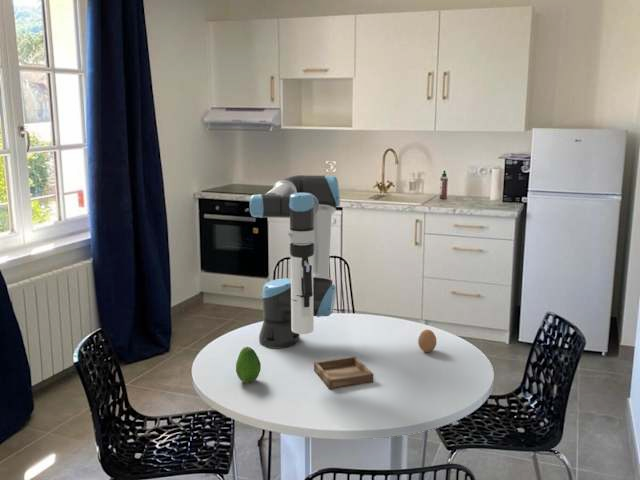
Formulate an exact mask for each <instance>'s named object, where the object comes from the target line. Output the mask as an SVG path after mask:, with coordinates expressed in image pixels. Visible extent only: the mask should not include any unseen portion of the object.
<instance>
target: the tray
mask: <svg viewBox="0 0 640 480" xmlns="http://www.w3.org/2000/svg"><path fill="white" fill-rule="evenodd" d="M313 371H314V372H315V374H316V375H317V376H318V378H319V379H320V380H321V381H322V382H323V384H324V385H325V386H326V387H327V388H328V390H330V391H331V390H336V389H337V390H338V389H342V388H347V387H354V386H355V387H356V386H361V385H366V384H373V383H374V373H373V372H372V370H371V369H369V368H368V367H367V366H366V365H365V364H364V363H363V362H362V361H361V360H360V359H359V358H358V357H357V356H356V355H354V356H348V357H342V358H334V359H329V360H322V361H315V362H313Z"/></svg>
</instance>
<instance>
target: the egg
mask: <svg viewBox="0 0 640 480" xmlns="http://www.w3.org/2000/svg"><path fill="white" fill-rule="evenodd" d="M417 340H418V341H417V343H418V346H419V348H420V350H421V351H422V352H425V353H430V352H433V350H434V349H435V348H436V346H437V337H436V335H435V333H434V332H433V331H432V330H431V329H424V330H422V331H421V333H420V334H419V336H418V339H417Z"/></svg>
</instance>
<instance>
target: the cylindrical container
mask: <svg viewBox="0 0 640 480" xmlns="http://www.w3.org/2000/svg"><path fill="white" fill-rule="evenodd" d="M308 261H309V265H311V266H312V272H311V274H312V294H313V255H312V256H309V257H308ZM301 277H302V278H303V267H302V257H295V256H292V255H291V254H290V279H291V330H292V332H294V333H297V334H299V335H307V334H311V333H313V332H314V331H315V330H314V329H315V328H314V316H313V295H312V296H311V297H310V316H306V317H302V316H301V298H300V296H302V288H301Z"/></svg>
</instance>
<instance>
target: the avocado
mask: <svg viewBox="0 0 640 480" xmlns="http://www.w3.org/2000/svg"><path fill="white" fill-rule="evenodd" d="M260 372H261V360H260V359H259V356H258V355H257V353H256V352H255V350H254V349H253V348H252V347H250V346H245V347H242V349H241V350H240V352H239V353H238V357H237V359H236V363H235V373H236V375H237V378H238V379H239V380H240V381H241V382H243V383H246V384H247V383H252V382H254V381H255V380H256V379H258V377H259V376H260Z"/></svg>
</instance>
